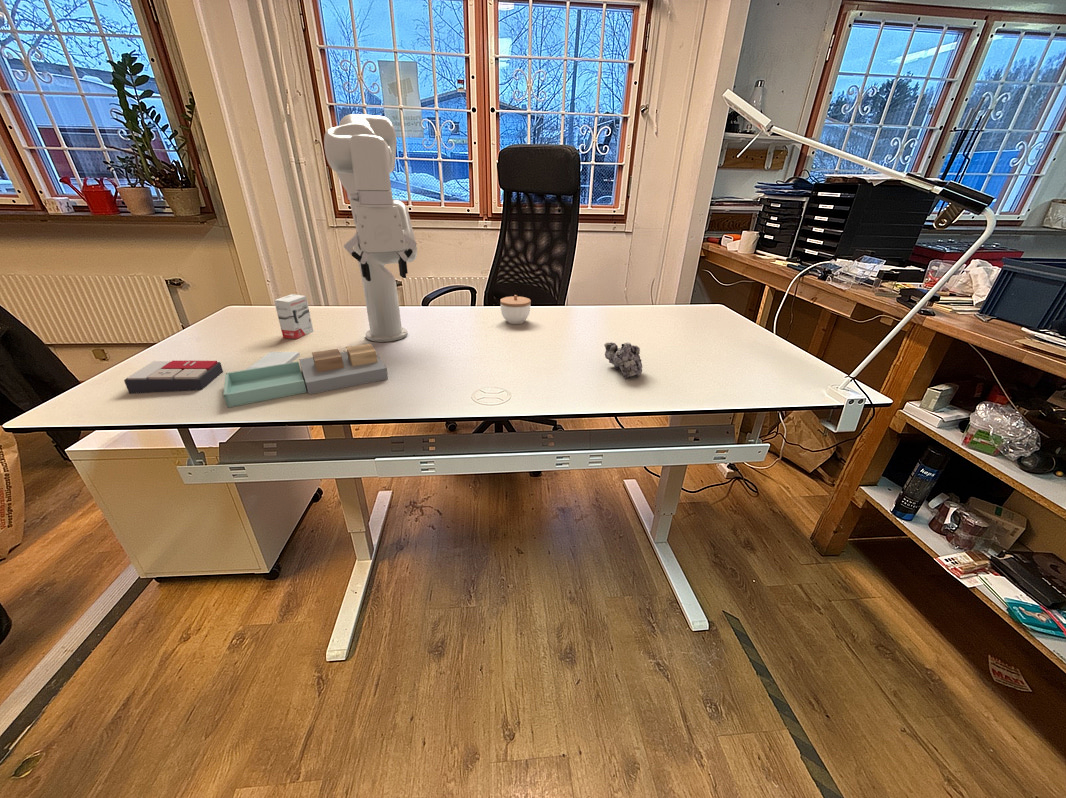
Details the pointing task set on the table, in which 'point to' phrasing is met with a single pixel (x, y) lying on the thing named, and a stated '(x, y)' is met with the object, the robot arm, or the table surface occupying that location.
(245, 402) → the tray
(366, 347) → the tile oak
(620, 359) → the mineral specimen
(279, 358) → the hard drive
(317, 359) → the tile walnut
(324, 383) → the board
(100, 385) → the table surface
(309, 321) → the ink box
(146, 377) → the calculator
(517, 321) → the lidded jar
